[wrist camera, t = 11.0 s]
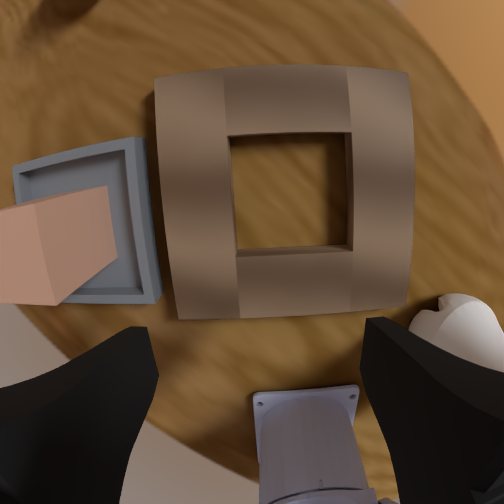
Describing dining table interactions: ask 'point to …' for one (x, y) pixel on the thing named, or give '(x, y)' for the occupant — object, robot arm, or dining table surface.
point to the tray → (121, 208)
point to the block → (54, 245)
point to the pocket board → (222, 199)
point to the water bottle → (463, 330)
